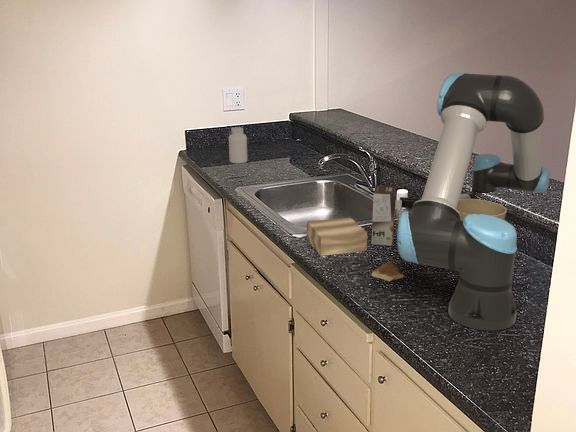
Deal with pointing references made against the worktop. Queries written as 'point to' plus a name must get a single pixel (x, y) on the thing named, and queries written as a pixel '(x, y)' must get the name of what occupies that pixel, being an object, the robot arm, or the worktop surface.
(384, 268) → the shard
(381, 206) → the coffee box
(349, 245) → the maple block
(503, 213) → the plant pot
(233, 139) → the pill bottle
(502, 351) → the worktop surface
